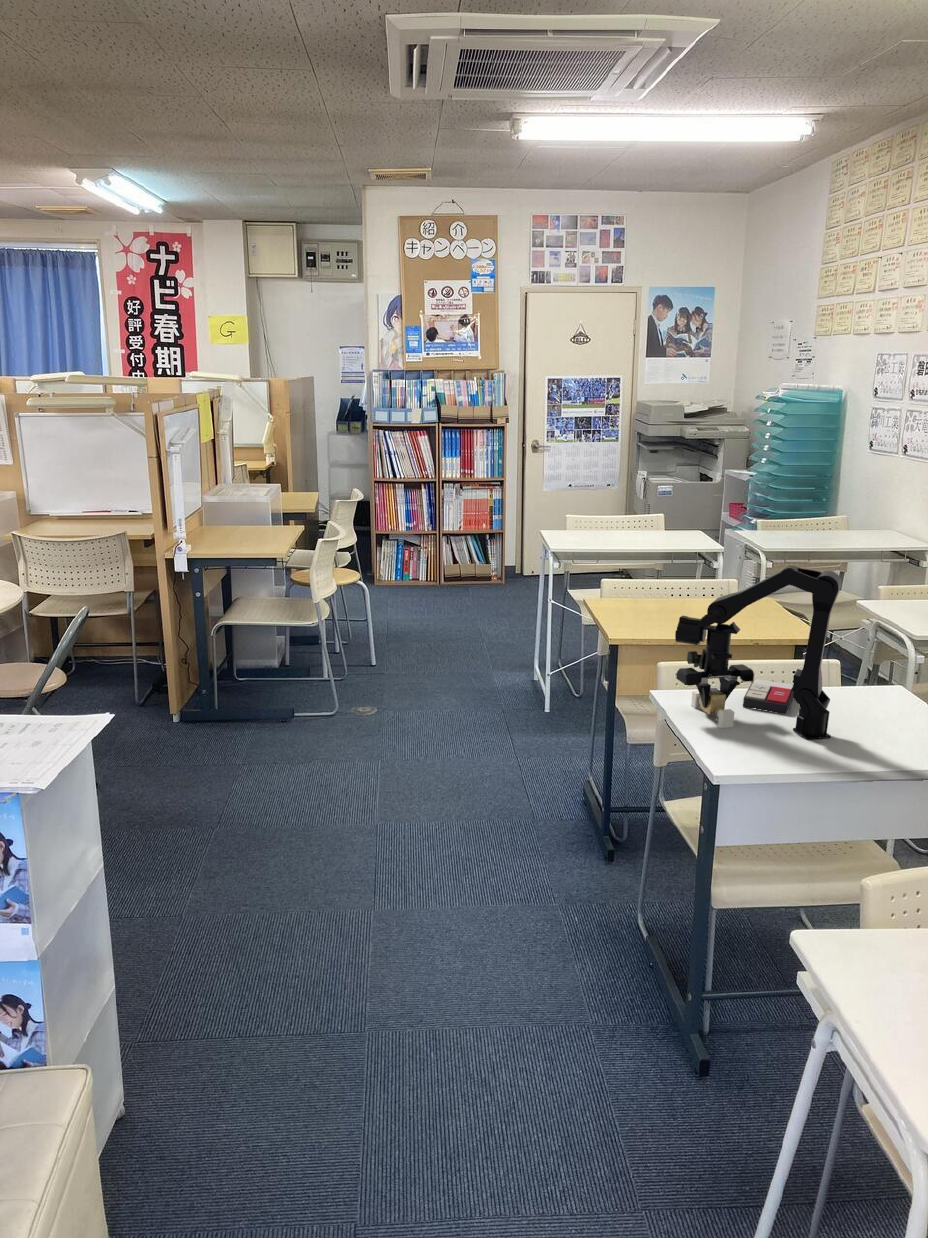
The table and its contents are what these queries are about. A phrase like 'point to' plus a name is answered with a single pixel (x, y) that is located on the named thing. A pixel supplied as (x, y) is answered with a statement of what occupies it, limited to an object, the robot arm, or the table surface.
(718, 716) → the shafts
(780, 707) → the red and grey box
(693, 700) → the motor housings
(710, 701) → the tan block
